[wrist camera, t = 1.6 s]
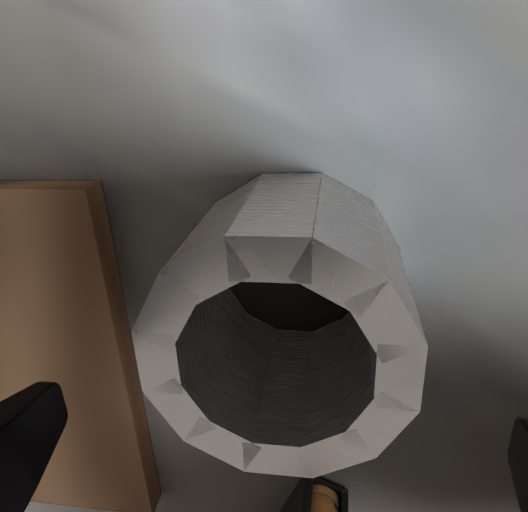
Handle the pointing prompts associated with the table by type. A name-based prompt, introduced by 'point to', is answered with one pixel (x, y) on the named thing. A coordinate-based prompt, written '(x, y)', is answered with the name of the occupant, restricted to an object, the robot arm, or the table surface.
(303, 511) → the ammunition clip
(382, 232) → the tube
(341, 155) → the table surface
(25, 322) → the post base
